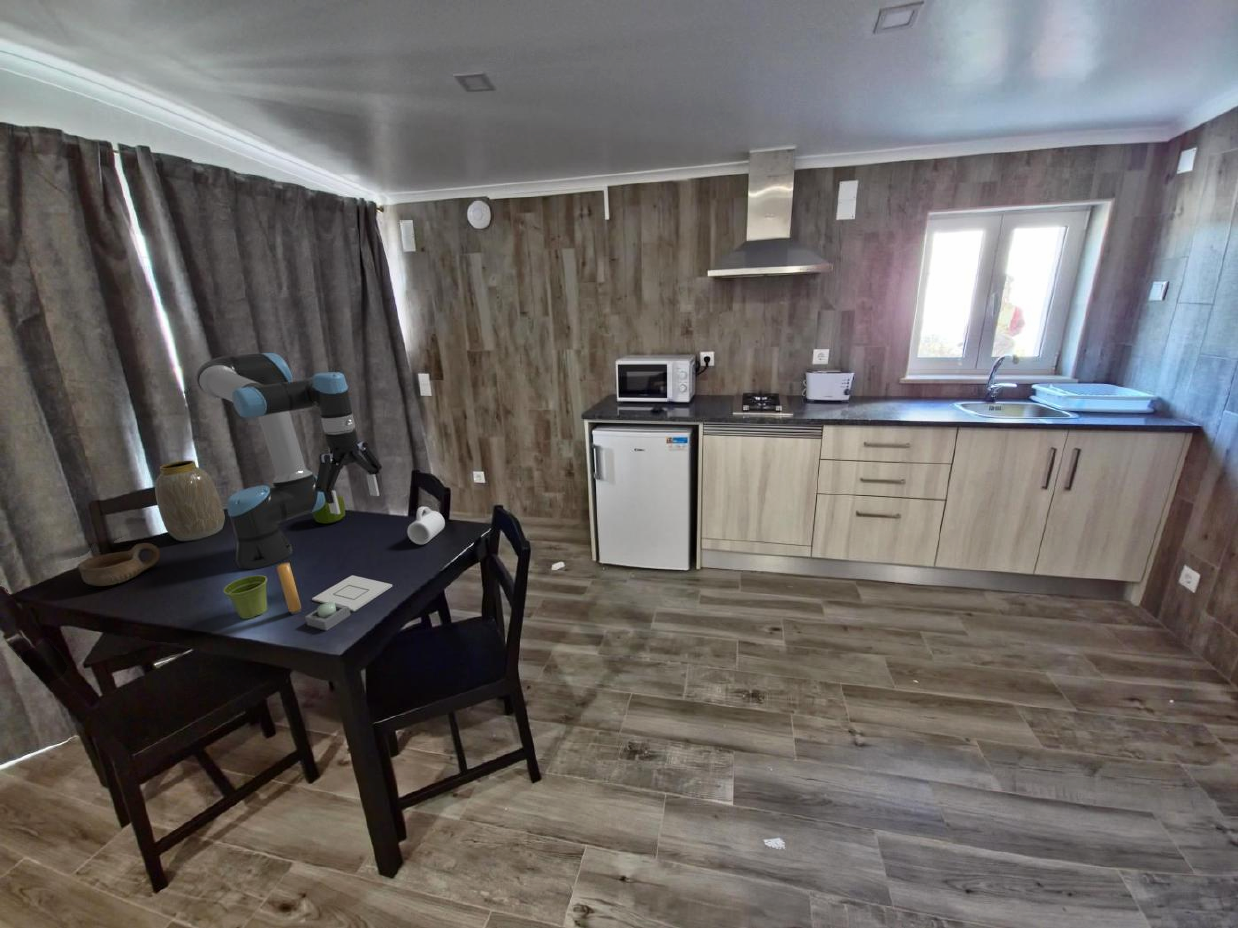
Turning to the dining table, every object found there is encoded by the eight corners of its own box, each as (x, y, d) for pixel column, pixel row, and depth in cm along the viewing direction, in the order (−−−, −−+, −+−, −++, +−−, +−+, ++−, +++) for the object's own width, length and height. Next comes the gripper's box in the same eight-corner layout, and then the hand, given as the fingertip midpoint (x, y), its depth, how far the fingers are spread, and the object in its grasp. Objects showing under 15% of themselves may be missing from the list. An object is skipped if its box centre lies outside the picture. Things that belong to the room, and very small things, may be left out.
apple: (307, 526, 187) (301, 499, 184) (328, 514, 197) (322, 489, 194) (334, 527, 185) (327, 500, 182) (353, 515, 195) (347, 489, 192)
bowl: (140, 556, 165) (136, 531, 162) (171, 571, 162) (168, 546, 159) (70, 584, 149) (64, 556, 145) (104, 601, 146) (99, 573, 143)
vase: (201, 523, 194) (179, 457, 186) (240, 524, 192) (220, 457, 184) (156, 543, 178) (131, 472, 170) (198, 544, 176) (174, 472, 167)
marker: (287, 613, 132) (274, 567, 128) (297, 608, 135) (284, 562, 130) (294, 615, 131) (281, 568, 127) (304, 610, 134) (292, 563, 129)
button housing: (307, 624, 127) (305, 616, 126) (331, 609, 133) (329, 601, 132) (326, 630, 124) (324, 622, 124) (350, 614, 130) (348, 606, 130)
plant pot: (246, 603, 138) (238, 576, 135) (282, 601, 138) (274, 573, 136) (224, 624, 129) (214, 595, 126) (262, 621, 129) (253, 592, 127)
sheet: (312, 600, 138) (312, 598, 138) (352, 576, 149) (351, 575, 149) (354, 611, 132) (353, 609, 132) (392, 586, 143) (392, 584, 143)
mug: (446, 532, 177) (441, 500, 174) (431, 545, 168) (426, 512, 164) (425, 531, 179) (419, 500, 175) (409, 544, 169) (403, 511, 165)
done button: (315, 618, 127) (313, 609, 126) (329, 609, 131) (327, 600, 130) (326, 621, 126) (324, 612, 125) (340, 612, 129) (338, 603, 128)
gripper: (308, 444, 122) (327, 523, 128) (386, 421, 144) (399, 489, 150) (286, 442, 124) (306, 520, 131) (366, 420, 146) (379, 487, 153)
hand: (356, 503), depth 141 cm, fingers open, 13 cm apart
